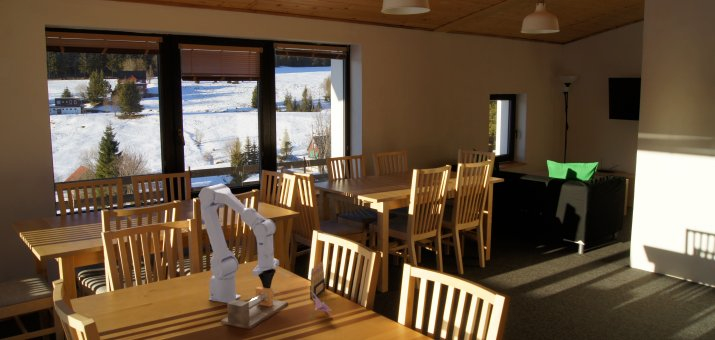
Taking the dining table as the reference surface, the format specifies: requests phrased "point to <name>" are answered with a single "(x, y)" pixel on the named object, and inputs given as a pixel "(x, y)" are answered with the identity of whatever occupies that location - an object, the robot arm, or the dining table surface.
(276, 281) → the dining table surface
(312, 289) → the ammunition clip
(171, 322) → the dining table surface
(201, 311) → the dining table surface
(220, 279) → the robot arm
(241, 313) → the pipe board
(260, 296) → the pipe
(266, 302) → the collar
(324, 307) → the lily
